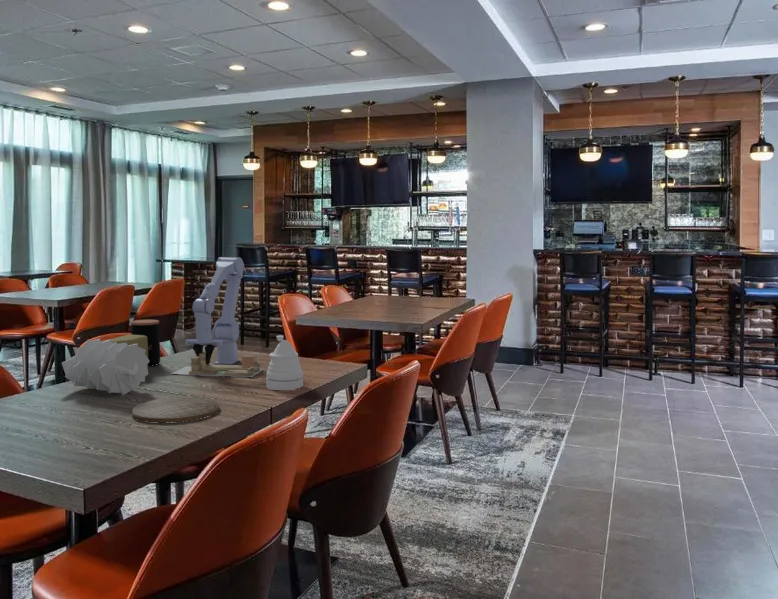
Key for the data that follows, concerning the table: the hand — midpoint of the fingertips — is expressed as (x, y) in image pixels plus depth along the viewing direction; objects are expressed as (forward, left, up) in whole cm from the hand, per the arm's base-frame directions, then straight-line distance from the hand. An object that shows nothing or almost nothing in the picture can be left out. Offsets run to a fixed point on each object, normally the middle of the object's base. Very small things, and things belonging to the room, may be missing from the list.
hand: (204, 363), depth 258 cm
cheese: (+19, -25, -3) cm, 31 cm away
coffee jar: (-6, -27, -3) cm, 28 cm away
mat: (+3, +7, -3) cm, 8 cm away
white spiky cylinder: (+38, -18, -3) cm, 43 cm away
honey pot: (+22, +39, -3) cm, 45 cm away
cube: (0, +18, -1) cm, 19 cm away
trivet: (+59, +16, -3) cm, 62 cm away
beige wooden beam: (0, +10, -3) cm, 10 cm away
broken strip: (+7, +10, -3) cm, 13 cm away
